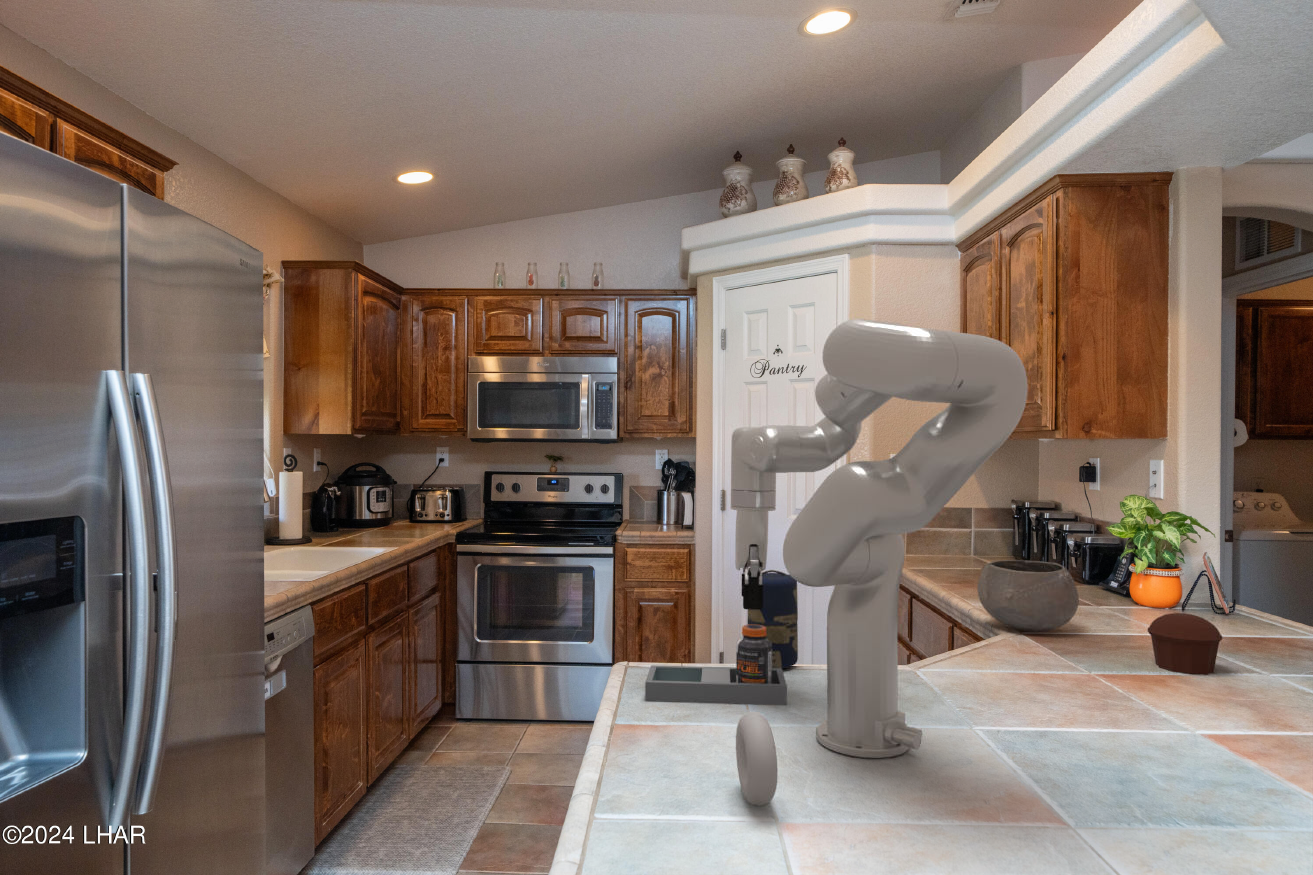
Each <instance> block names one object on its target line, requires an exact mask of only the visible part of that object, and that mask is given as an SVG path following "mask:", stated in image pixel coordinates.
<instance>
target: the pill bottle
mask: <svg viewBox="0 0 1313 875" xmlns="http://www.w3.org/2000/svg"><path fill="white" fill-rule="evenodd" d="M741 635H742V637H740V638H738V640H737V641H736V651H735V652H736V653H735V654H736V655H735V656H736V659H735V660H736V661H735V662H736V664H735V667H736V683H761V684H772V643H771V642H770V640H768V639H766V627H765V626H762V625H754V624H751V625H748V624H744V625H743V626H742V628H741Z"/></svg>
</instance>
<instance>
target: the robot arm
mask: <svg viewBox="0 0 1313 875" xmlns="http://www.w3.org/2000/svg"><path fill="white" fill-rule="evenodd" d="M822 348H823V349H822V363H823V367H824V369H825V371H826V374H825V375H824V376H822V377H821V378H820V379H819V380H818V382H817V384H816V387H815V389H814V396H815V397H814V398H815V401H816V404H817V406H818V408H819V410H820V412H821V413H822V415H823V416H824V417H823V418H822V419H820V420H819V421H818V422H817V423H815V424H814V425H811V426H810V425H809V426H808V425H773V424H772V425H763V426H759V427H757V426H756V427H751V426H750V427H748V426H747V427H745V426H744V427H737V428H736V429H734V430H733V432H732V434H731V448H730V449H731V452H730V453H731V455H730V456H731V457H730V459H731V460H730V462H731V463H730V509H731V510H733V511H736V517H735V544H734V545H735V549H734V550H735V552H734V553H735V556H734V557H735V558H734V559H735V560H734V563H735V569H736V570H737V571H741V569H742V573H741V593H740V594H741V597H742V608H743V609H744V610H748V609H751V610H762V609H763V584H762V572H764V571H766V568H767V559H768V558H767V557H768V542H769V512H773V511H776V510H777V509H776V506H777V504H776V500H777V499H776V498H777V497H776V496H777V474H787V473H816V472H819V471H822V470H825V469H827V468H829V467H830V466H832V465H834V464H835V463H836V462H838V461H839V460H840V459H841V458H842V457H844V456H845V455H847V454H848V453H849V452H850V451H851V450H852V449H853V448H854V447H855V445H856V443H857V441H858V439H859V436H860V434H861V429H862V422H863V421H864V420H865V419H867V418H868V417H869V416H871V415H872V414H873V413H874V412H876V411H877V410H879V409H880V408H881V407H882V406H883V405H885V404H886V403H887V402H889V401H890V400H891V399H893V398H896V399H902V400H906V401H914V402H922V403H924V402H925V403H940V404H949V405H948V406H946V408H945V409H943V410H942V411H941V412H939V413H938V414H936V415H935V416H933V417H932V418H930V419H928V420H927V421H925V423H924V424H923V425H921V426H920V427H919V428H918V429H917V430H916V431H915V432H914V433H913V434H912V437H910V439H909V440H908V442H907V443H906V444H905V445H904V446H903V447H902V448H901V449H900V450H899V451H898V452H897V453H896V454H895V455H894V456H892V457H889V459H888V458H887V459H883V460H859V461H852V462H849V463H845V464H843V465H841V466H840V467H838V468H836V469H835V470H833V471H831V473H830V474H829V475H827V476H826V478H825V479H824V480H823V482H821V484H820V485H819V487H818V488H817V489H816V491H815V492H814V493H813V494H812V495H811V497H810V499H809V500H808V501H807V503H806V504H805V505H804V507H802V509H801V511H800V512H799V513H798V515H797V516H796V517H795V518H794V520H793V521H792V523H791V525H790V526H789V528H788V530H787V532H786V534H785V538H784V540H783V545H782V546H783V547H782V559H783V563H784V567H785V569H786V571H787V572H788V575H791V577H793V578H794V579H795V580H796V581H797V583H799V584H801V585H804V586H806V587H812V588H823V587H833V586H834V588H833V590H832V593H831V594H830V595H831V596H830V599H829V602H828V606H827V612H826V677H827V678H826V681H827V682H826V690H827V691H826V694H827V695H826V699H827V700H826V701H827V702H826V707H827V710H826V711H827V712H826V714H827V715H826V716H827V717H826V718H827V720H825V721H823V722H821V723H820V724H818V725H817V727H816V730H815V736H816V740H817V742H818V743H820V744H821V745H822V746H823V747H825V748H827V749H829V750H831V751H834V752H836V753H840V754H842V755H847V756H852V757H858V758H868V759H875V758H876V759H880V758H881V759H883V758H891V757H896V756H898V755H899V756H900V755H902V754H904V753H906V752H907V751H908V750H909V749H910V748H911V749H914V750H919V749H920V747H921V745H922V742H923V740H922V737H923V730H922V729H921V728H917V727H913V726H909V725H908V724H907V723H906V713H905V712H902V711H899V693H898V692H899V688H898V687H899V686H898V684H899V680H898V679H899V678H898V676H899V674H898V672H899V670H898V666H899V663H898V661H899V660H898V630H899V629H898V628H899V627H898V626H899V624H898V623H899V622H898V621H899V620H898V619H899V618H898V617H899V615H898V611H899V610H898V609H899V607H898V606H899V593H900V592H899V591H900V584H901V579H902V574H903V569H904V564H905V556H906V555H905V554H906V550H905V548H906V547H905V541H904V538H903V535H902V534H909V533H914V532H915V533H916V531H917V532H918V531H919V530H922V529H923V528H924V527H926V526H927V525H928V524H929V523H930V522H931V521H933V519H934V518H935V517H936V516H937V515H938V513H939V512H940V511H942V509H943V508H944V507H945V506H946V505H947V504H948V503H949V502H950V501H951V499H952V498H954V496H955V495H956V494H957V493H958V492H960V490H961V489H962V488H963V486H965V484H966V483H967V482H968V481H969V479H970V478H971V477H972V476H973V475H974V474H975V472H976V471H978V470H979V468H981V466H982V465H983V464H985V462H986V461H987V460H988V459H989V458H990V457H992V456H993V454H995V453H996V452H997V450H999V449H1000V447H1001V446H1002V445H1003V444H1005V442H1006V441H1007V440H1008V439H1009V437H1010V436H1011V434H1012V433H1013V432H1014V430H1015V429H1016V427H1017V426H1018V425H1019V422H1020V421H1021V418H1022V417H1023V414H1024V410H1025V408H1026V404H1027V400H1028V378H1027V377H1028V376H1027V372H1026V369H1025V366H1024V363H1023V361H1022V360H1021V357H1020V356H1019V355H1018V353H1017V352H1016V351H1015V350H1014V349H1013V348H1012V347H1010V346H1009V345H1007V344H1006V343H1004V342H1002V341H1001V340H998V339H995V338H994V337H993V338H992V337H988V336H986V335H979V334H971V333H965V332H955V331H948V330H939V329H934V328H924V327H918V326H917V327H915V326H907V325H904V324H901V323H897V322H896V323H894V322H887V321H880V320H873V319H871V320H870V319H864V318H853V319H849V320H845V321H844V322H841V323H840V324H838V325H837V326H836V327H835V328H834V329H833V330H832V331H831V332H830V333H829V335H828V337H827V338H826V339H825V343H824V345H823V347H822Z"/></svg>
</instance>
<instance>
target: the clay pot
mask: <svg viewBox="0 0 1313 875" xmlns="http://www.w3.org/2000/svg"><path fill="white" fill-rule="evenodd" d="M980 570H981V574H980V575H979V578H978V580H977V581H978V582H977V586H976V588H977V589H976V590H977V596H978V599H979V601H980V604H981V605H982V607H983V608H984V610H985V611H986V612H987V613H988V615H990V616H991V617H992V618H993V619H994V620H996V621H998V622H999V623H1001V624H1003V625H1005V626H1007V627H1010V628H1011V629H1016V630H1020V631H1026V632H1045V631H1046V632H1048V631H1053V630H1057V629H1059V628H1061V627H1062V626H1065V625H1067V624H1068V623H1069V622H1070V621H1071V620H1072V619H1073V617H1074V616H1075V615H1076V613H1077V611H1078V607H1079V602H1080V598H1079V592H1078V589H1077V585H1076V583H1075V580H1074V578H1073V576H1072V574H1071V573H1070V572H1069V570H1068V569H1067V568H1066V567H1065V566H1063V565H1061V564H1059V563H1057V562H1050V561H1049V562H1048V561H1042V560H1041V561H1037V560H1024V559H1006V560H996V561H991V562H987V563H985V564H984V565H983V566H982V567H981V569H980Z"/></svg>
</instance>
